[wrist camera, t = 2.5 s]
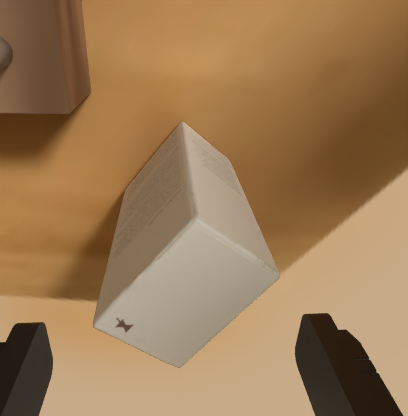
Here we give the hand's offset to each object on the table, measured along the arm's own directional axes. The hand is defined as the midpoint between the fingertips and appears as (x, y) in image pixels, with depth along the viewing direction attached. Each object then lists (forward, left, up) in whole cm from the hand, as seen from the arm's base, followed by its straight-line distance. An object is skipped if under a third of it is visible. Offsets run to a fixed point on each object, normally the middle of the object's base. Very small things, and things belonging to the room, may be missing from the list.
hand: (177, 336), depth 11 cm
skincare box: (0, 0, -14) cm, 14 cm away
